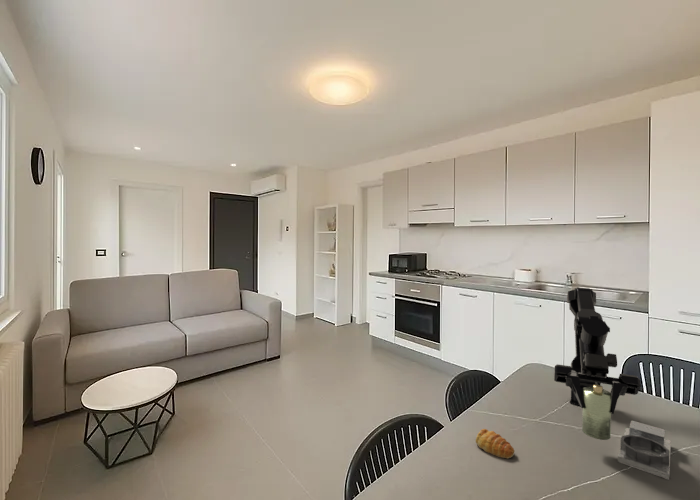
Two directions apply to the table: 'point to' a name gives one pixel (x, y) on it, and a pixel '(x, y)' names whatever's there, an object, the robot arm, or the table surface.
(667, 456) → the grey piece
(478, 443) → the pastry
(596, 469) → the table surface
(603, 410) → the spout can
